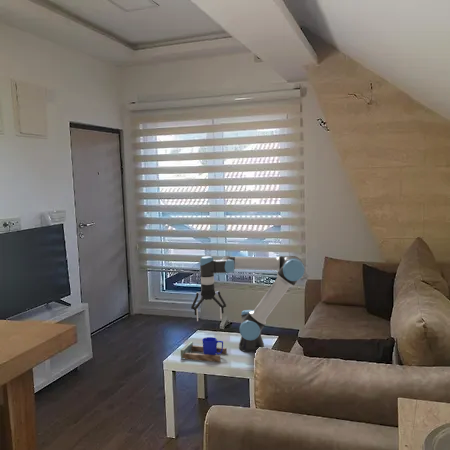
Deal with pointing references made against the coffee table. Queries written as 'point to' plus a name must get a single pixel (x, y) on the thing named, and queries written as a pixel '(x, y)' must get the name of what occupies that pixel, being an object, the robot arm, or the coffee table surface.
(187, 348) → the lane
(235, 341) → the coffee table surface
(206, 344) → the mug
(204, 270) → the robot arm
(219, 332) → the coffee table surface
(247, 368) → the coffee table surface
